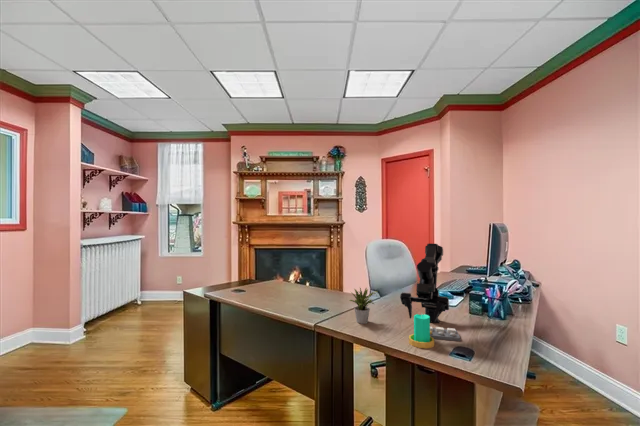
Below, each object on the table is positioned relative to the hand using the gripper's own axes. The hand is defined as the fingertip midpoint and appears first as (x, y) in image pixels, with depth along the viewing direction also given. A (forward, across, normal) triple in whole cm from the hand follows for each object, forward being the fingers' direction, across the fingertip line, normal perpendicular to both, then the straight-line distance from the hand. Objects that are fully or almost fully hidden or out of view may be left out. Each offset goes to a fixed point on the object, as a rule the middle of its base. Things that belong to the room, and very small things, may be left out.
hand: (422, 319), depth 121 cm
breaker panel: (-1, +6, +13) cm, 14 cm away
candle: (+8, 0, +5) cm, 9 cm away
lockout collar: (+8, 0, +4) cm, 9 cm away
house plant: (-1, -28, +14) cm, 31 cm away
